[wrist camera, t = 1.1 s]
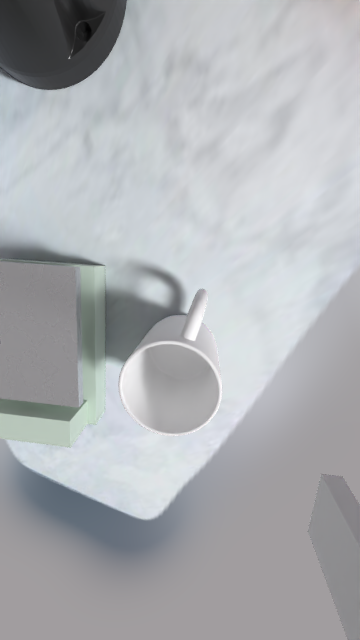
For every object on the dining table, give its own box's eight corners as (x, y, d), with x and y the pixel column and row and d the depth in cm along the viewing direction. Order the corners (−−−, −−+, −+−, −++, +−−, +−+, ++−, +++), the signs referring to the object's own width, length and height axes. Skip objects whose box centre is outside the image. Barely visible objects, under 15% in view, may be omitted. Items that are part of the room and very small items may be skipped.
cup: (137, 367, 32) (106, 416, 22) (168, 271, 29) (149, 278, 19) (202, 390, 32) (200, 450, 22) (240, 296, 29) (258, 317, 19)
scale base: (11, 258, 30) (-45, 259, 24) (105, 265, 30) (75, 268, 23) (23, 407, 35) (-21, 443, 28) (105, 416, 34) (80, 456, 27)
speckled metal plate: (-5, 259, 28) (-30, 259, 25) (89, 266, 27) (75, 267, 24) (7, 383, 31) (-14, 396, 28) (91, 393, 30) (78, 407, 27)
